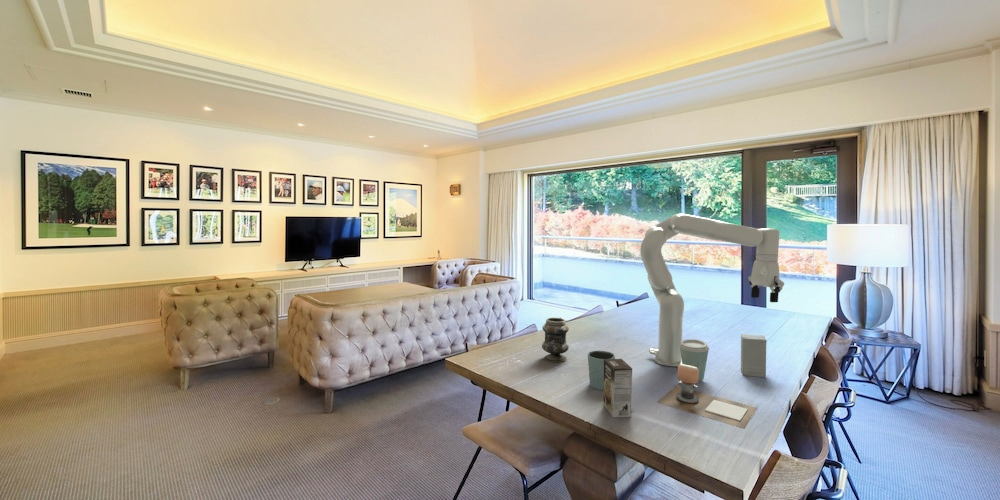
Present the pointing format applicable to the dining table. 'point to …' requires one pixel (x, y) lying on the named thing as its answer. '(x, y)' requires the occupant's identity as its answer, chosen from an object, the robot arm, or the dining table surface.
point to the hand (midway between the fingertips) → (764, 299)
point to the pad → (726, 410)
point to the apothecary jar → (555, 339)
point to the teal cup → (597, 368)
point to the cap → (688, 373)
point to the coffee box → (617, 387)
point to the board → (703, 404)
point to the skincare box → (753, 355)
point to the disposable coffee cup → (694, 355)
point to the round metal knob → (687, 393)
